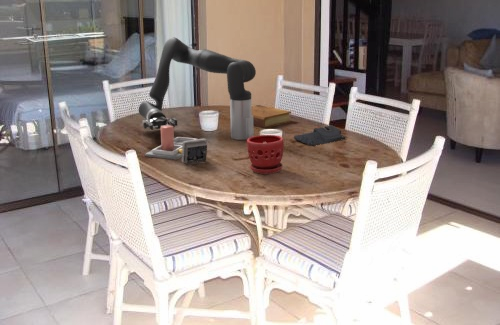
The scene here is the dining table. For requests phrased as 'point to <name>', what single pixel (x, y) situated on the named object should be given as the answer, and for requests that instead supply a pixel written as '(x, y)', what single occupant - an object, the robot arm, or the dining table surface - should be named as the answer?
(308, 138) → the dark slate chunk
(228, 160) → the dining table surface
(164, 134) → the pink cylinder
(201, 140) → the electrical switch
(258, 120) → the diary
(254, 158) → the plant pot
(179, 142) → the grey compartment tray
